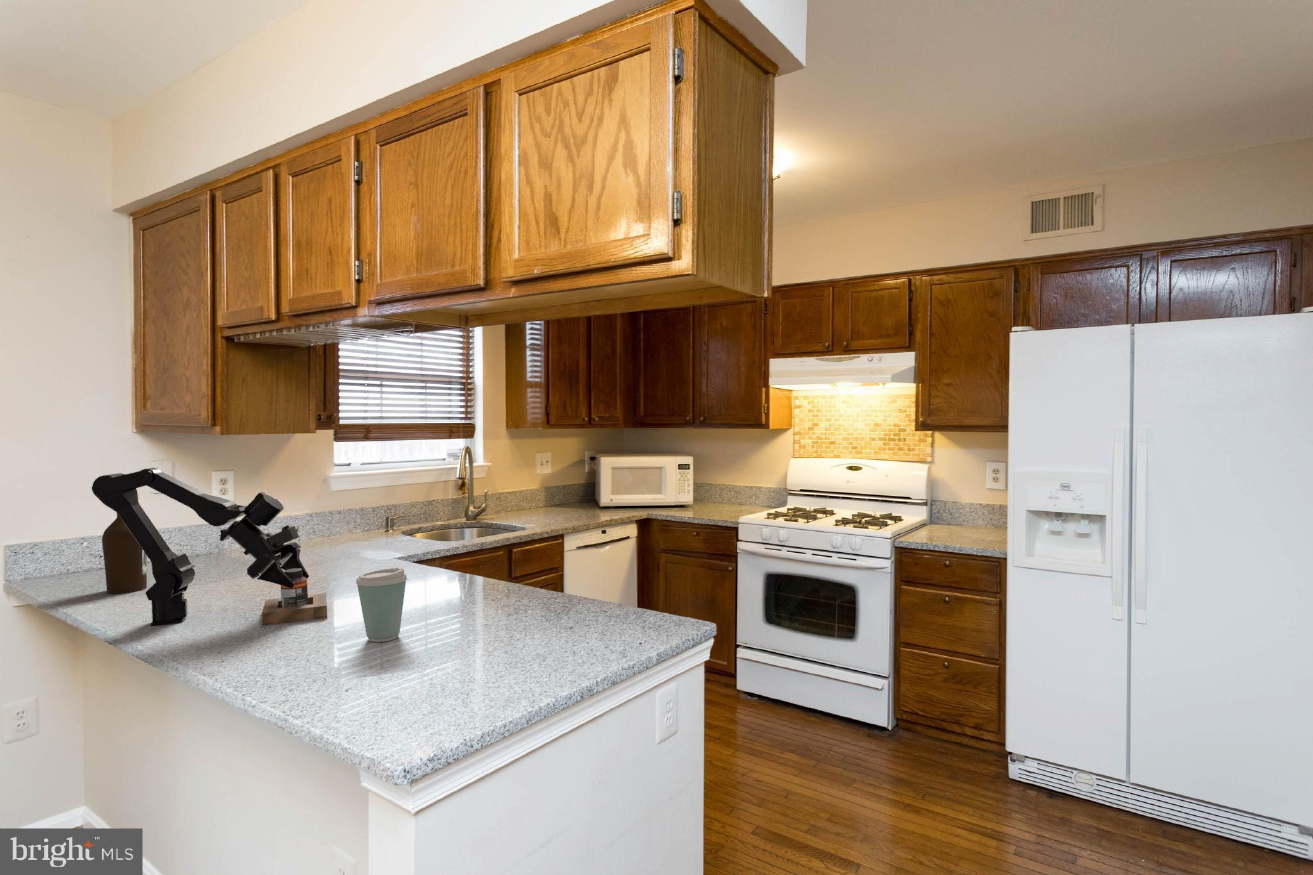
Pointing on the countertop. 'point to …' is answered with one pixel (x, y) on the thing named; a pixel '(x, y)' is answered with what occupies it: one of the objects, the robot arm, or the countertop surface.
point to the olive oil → (123, 559)
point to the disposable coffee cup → (382, 602)
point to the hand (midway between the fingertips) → (300, 582)
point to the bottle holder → (294, 610)
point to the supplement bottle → (295, 589)
